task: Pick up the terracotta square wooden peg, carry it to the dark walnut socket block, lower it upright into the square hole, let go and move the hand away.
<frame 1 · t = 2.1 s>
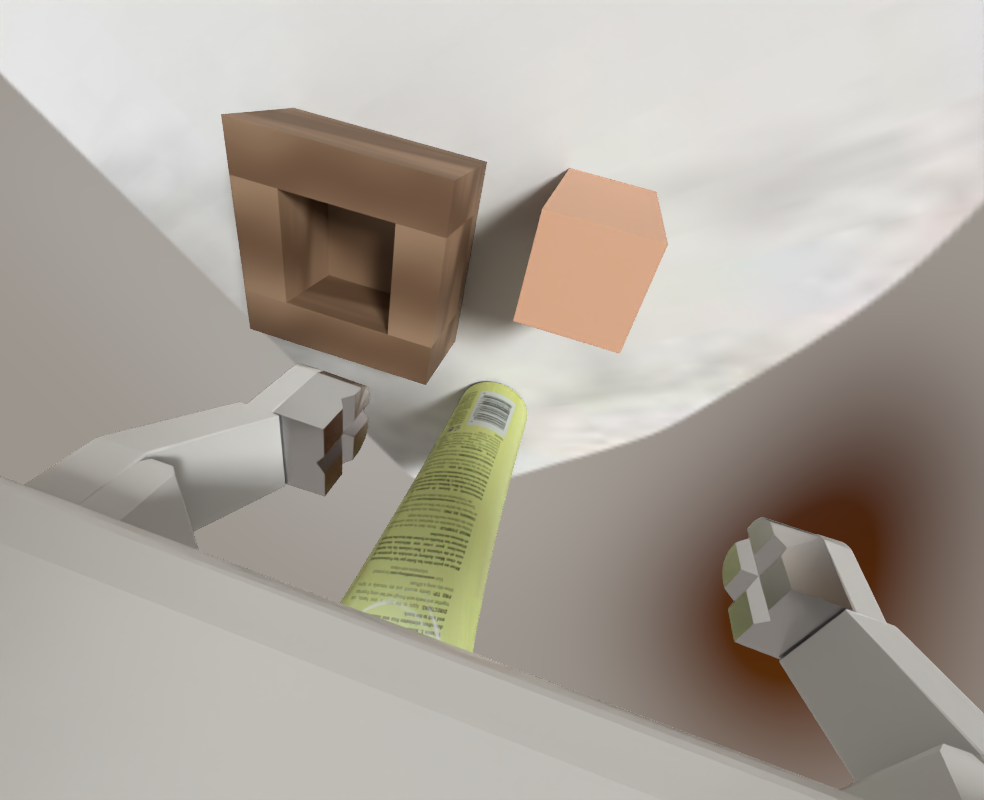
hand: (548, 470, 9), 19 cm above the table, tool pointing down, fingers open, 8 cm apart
peg: (597, 224, 24), on the table
tube: (492, 406, 33), on the table
socket block: (382, 236, 28), on the table
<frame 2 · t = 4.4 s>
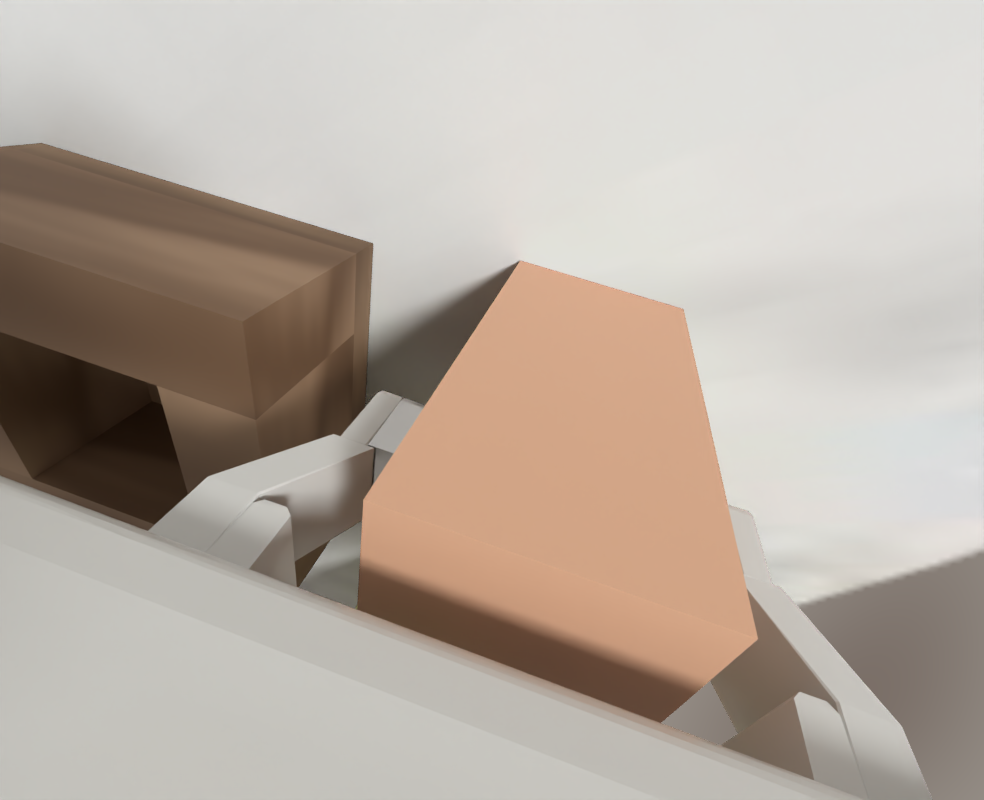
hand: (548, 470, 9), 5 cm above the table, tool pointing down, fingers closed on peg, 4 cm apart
peg: (574, 355, 14), on the table, touching gripper
socket block: (227, 348, 17), on the table
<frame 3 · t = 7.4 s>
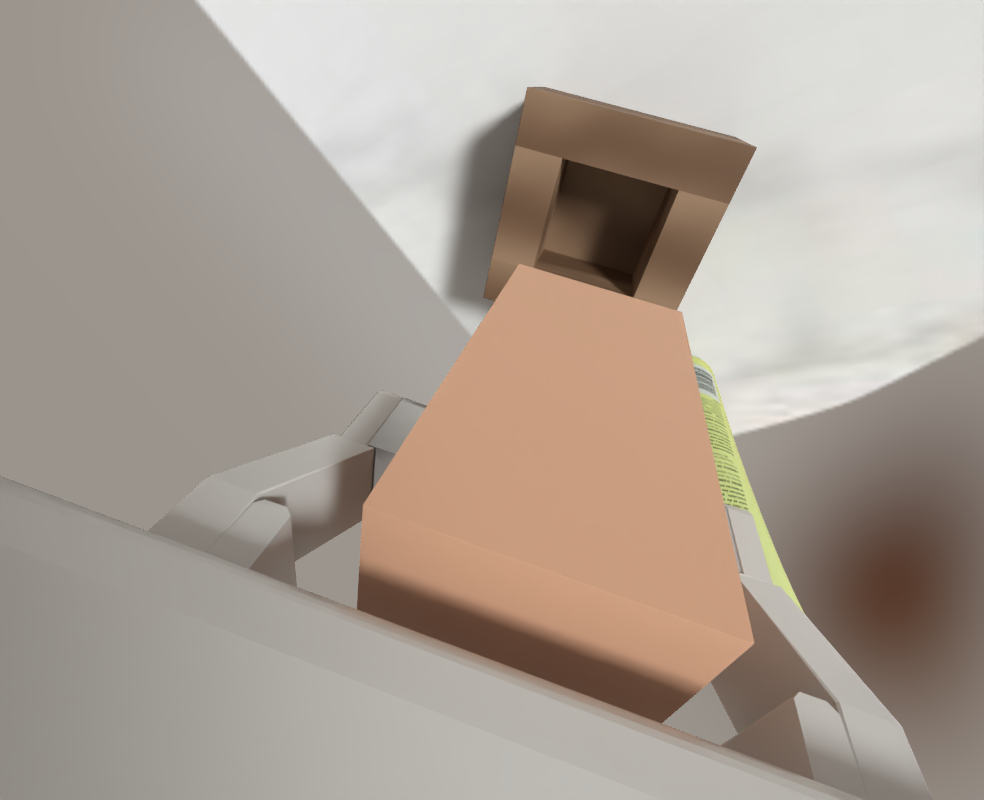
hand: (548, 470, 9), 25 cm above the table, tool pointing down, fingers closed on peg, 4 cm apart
peg: (573, 357, 14), point 19 cm above the table, touching gripper
tube: (674, 379, 34), on the table
socket block: (604, 211, 29), on the table
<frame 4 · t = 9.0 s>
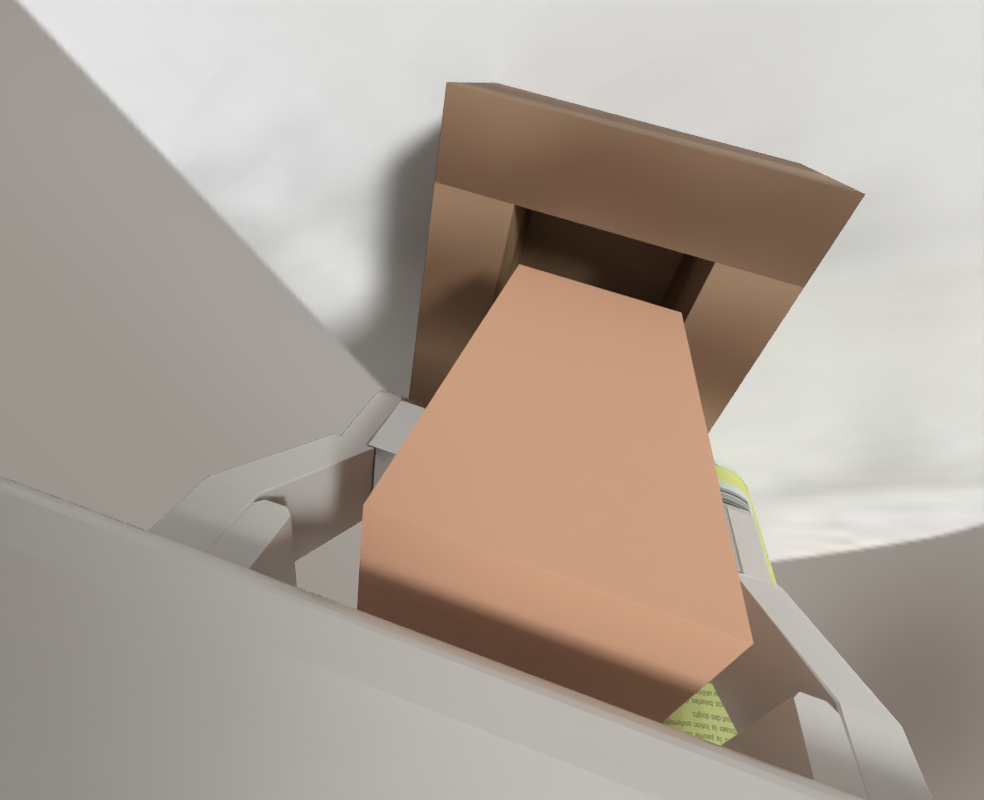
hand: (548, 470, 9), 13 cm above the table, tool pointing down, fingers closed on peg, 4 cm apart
peg: (573, 358, 14), point 7 cm above the table, touching gripper
tube: (691, 490, 25), on the table
socket block: (592, 269, 19), on the table
when the fingers open (8 cm above the table, at t = 10.4 s): peg drops 1 cm, resting on socket block.
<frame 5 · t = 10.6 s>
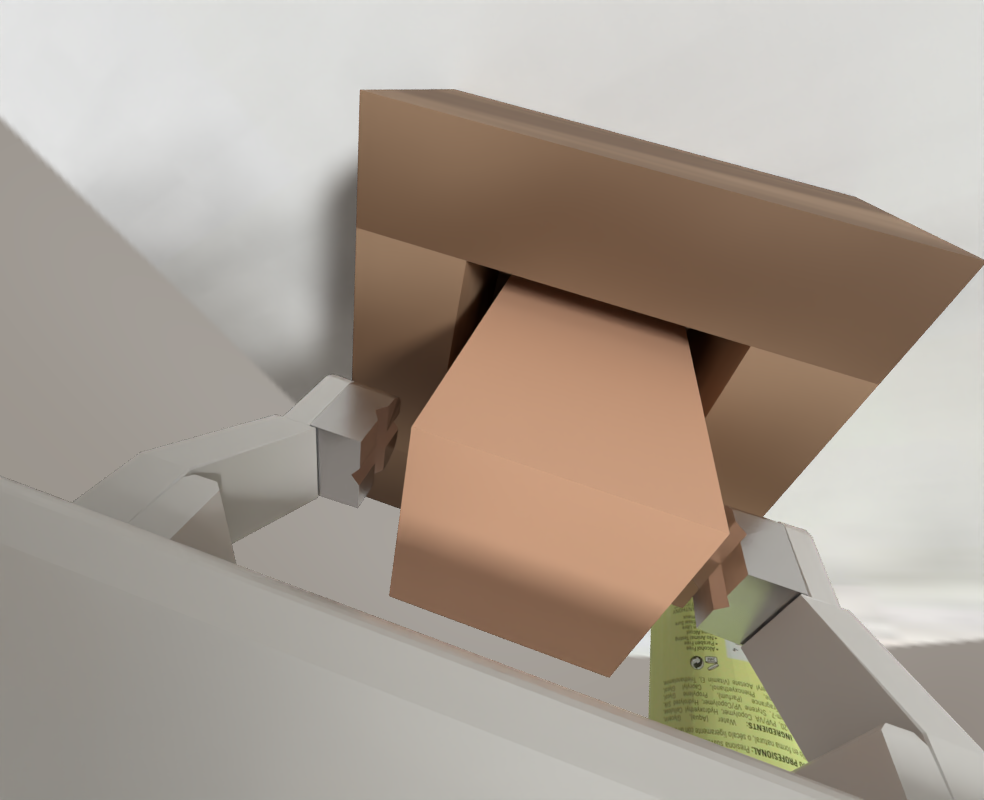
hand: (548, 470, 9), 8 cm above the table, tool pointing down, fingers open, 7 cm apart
peg: (578, 335, 15), point 1 cm above the table, touching socket block
tube: (702, 571, 21), on the table
socket block: (582, 321, 16), on the table
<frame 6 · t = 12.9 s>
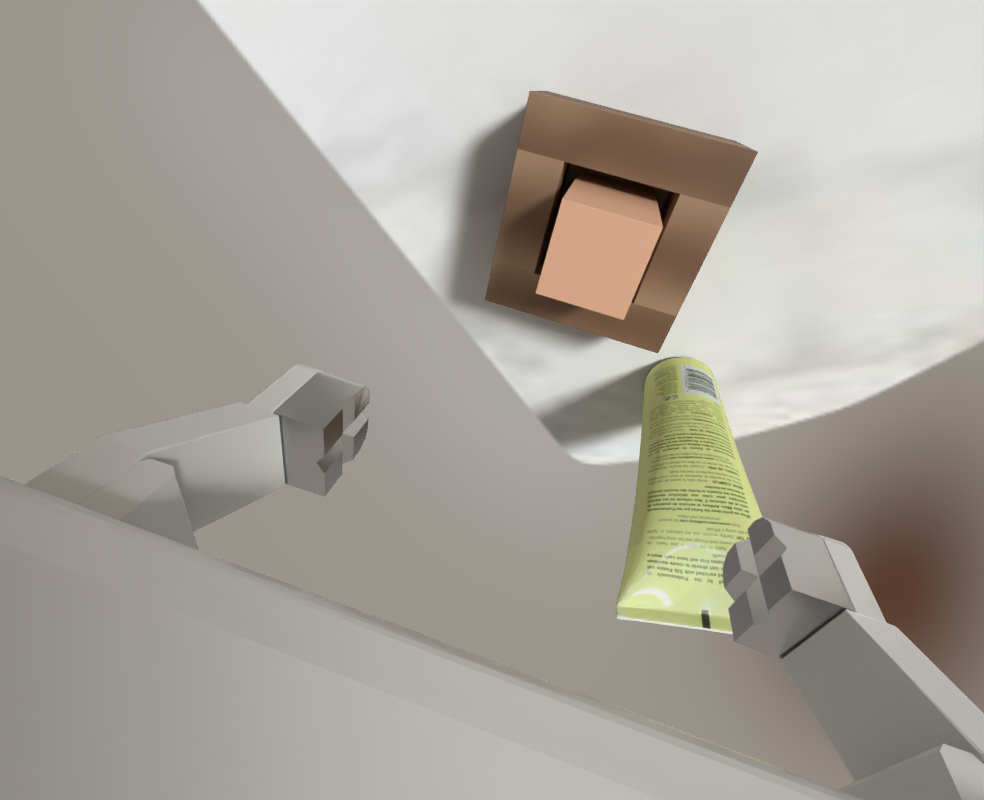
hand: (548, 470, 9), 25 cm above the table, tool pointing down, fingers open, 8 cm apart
peg: (604, 219, 28), point 1 cm above the table, touching socket block
tube: (675, 382, 35), on the table
socket block: (605, 214, 29), on the table
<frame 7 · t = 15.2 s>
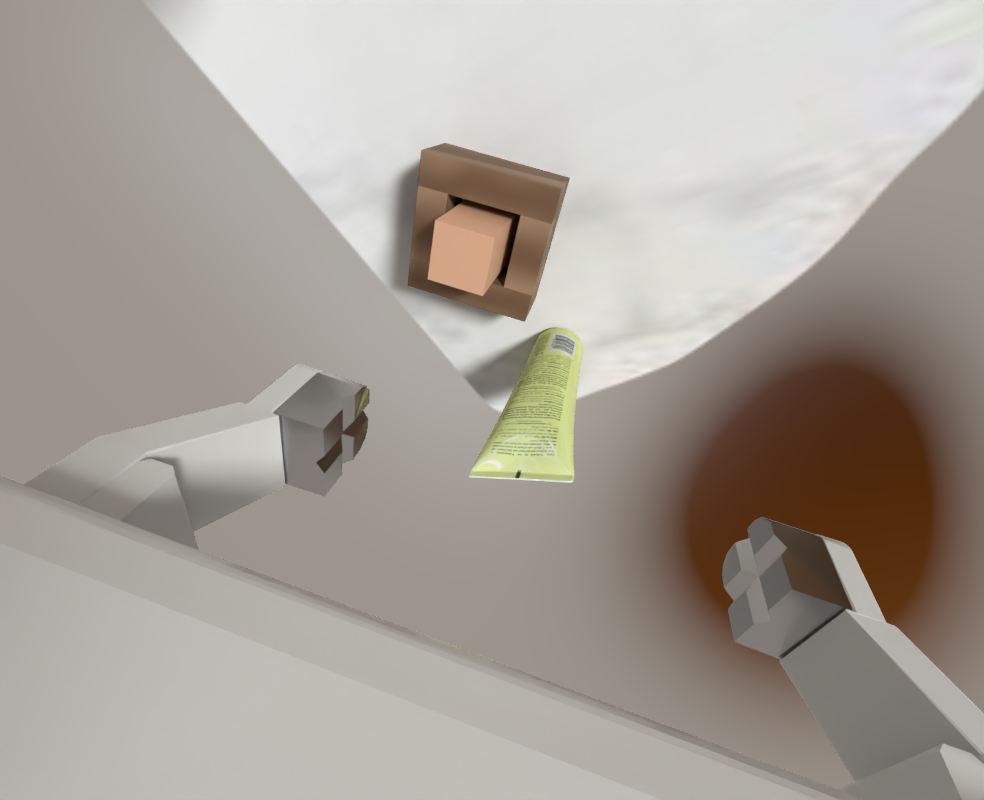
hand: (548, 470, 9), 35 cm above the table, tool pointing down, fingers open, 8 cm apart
peg: (490, 229, 41), point 1 cm above the table, touching socket block
tube: (556, 347, 47), on the table
socket block: (493, 226, 42), on the table
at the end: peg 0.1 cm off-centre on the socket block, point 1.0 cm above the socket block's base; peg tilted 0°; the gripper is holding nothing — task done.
